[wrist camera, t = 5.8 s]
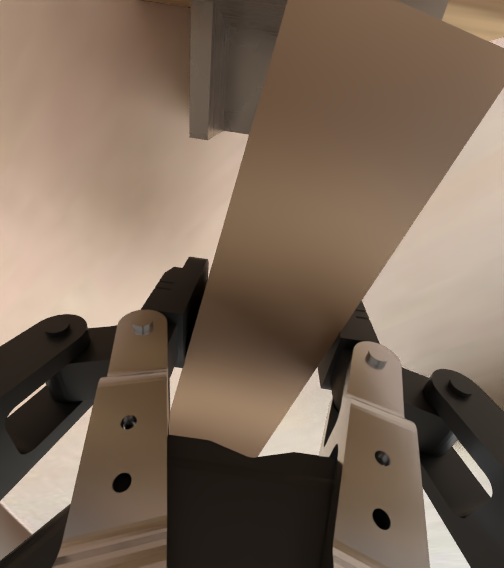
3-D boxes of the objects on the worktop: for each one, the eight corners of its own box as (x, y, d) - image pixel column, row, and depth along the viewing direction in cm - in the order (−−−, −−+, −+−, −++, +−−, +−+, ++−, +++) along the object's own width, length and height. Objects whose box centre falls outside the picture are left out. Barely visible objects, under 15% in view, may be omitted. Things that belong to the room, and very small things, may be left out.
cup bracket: (348, 147, 17) (385, 174, 11) (211, 127, 17) (176, 143, 11) (379, 35, 14) (451, -7, 8) (216, 11, 14) (172, -49, 8)
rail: (290, 18, 8) (299, -43, 4) (423, 73, 8) (523, 57, 5) (181, 383, 16) (157, 457, 13) (249, 401, 17) (243, 478, 13)
